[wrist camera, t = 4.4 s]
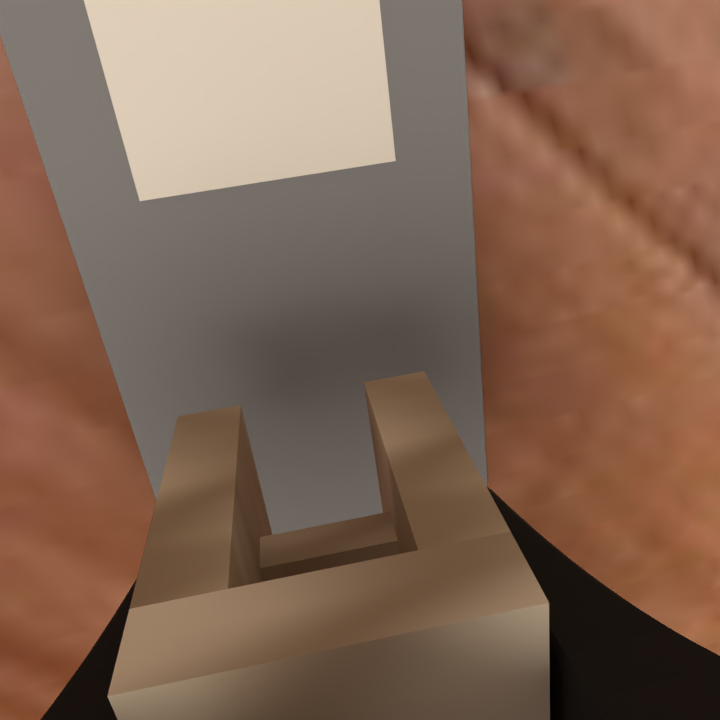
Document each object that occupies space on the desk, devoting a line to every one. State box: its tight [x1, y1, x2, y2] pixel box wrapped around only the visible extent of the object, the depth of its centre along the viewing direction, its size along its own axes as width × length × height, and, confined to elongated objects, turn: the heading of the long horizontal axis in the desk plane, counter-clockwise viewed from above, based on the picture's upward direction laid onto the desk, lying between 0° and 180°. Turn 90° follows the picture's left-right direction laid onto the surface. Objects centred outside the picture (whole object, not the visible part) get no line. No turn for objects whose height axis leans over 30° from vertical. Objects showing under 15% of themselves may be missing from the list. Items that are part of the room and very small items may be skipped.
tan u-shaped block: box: [107, 371, 550, 720], centre depth 11 cm, size 5×5×6 cm
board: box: [0, 0, 488, 535], centre depth 18 cm, size 20×11×1 cm, turn 7°
